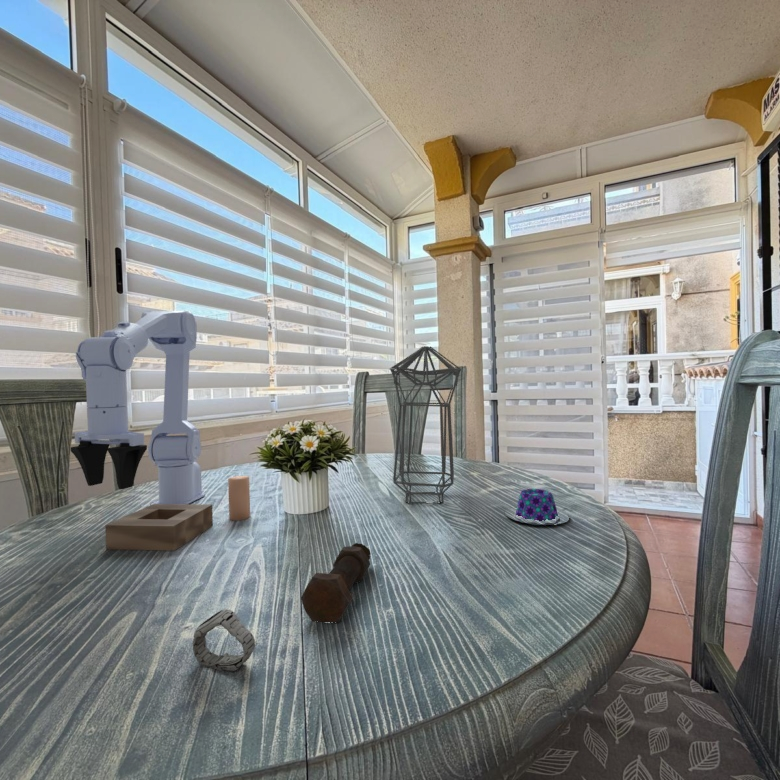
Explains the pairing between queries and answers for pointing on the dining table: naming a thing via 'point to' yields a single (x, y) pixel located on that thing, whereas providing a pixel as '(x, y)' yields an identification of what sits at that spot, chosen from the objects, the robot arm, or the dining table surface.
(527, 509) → the pudding
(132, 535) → the socket block
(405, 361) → the geometric lantern
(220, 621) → the wristwatch
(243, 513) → the peg
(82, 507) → the dining table surface
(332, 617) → the bolt
